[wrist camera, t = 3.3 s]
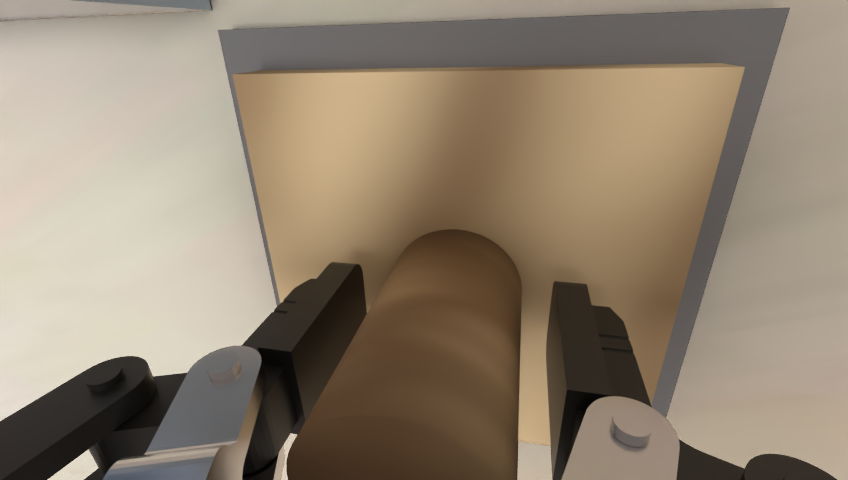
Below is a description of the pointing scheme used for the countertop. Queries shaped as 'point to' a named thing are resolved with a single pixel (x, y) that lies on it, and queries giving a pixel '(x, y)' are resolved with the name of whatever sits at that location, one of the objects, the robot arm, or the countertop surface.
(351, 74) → the lid
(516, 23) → the mat
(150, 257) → the countertop surface
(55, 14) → the dish
